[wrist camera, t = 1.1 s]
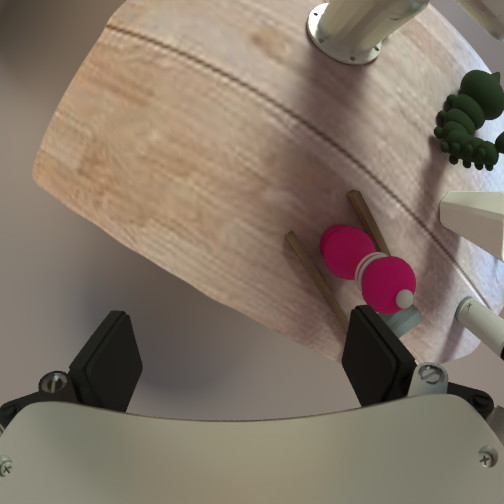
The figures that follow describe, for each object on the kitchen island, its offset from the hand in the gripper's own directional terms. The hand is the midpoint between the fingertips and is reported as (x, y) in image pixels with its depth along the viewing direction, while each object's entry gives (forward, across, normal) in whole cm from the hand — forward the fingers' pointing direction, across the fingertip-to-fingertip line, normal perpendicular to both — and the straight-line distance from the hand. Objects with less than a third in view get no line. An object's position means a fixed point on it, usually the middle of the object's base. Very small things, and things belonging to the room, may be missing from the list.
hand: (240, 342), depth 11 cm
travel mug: (+30, -49, +20) cm, 61 cm away
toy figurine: (+30, -39, -20) cm, 53 cm away
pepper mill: (+30, -15, +4) cm, 33 cm away
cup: (+30, -38, -2) cm, 49 cm away
